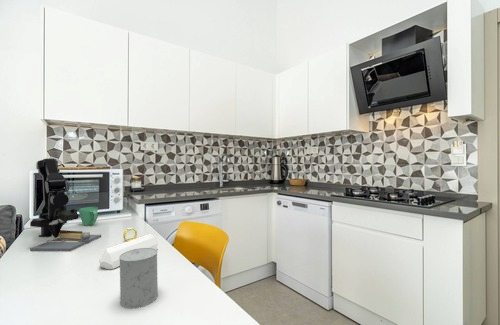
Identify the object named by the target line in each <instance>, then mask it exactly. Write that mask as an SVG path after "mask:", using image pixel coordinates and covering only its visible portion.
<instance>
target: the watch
mask: <svg viewBox="0 0 500 325" xmlns="http://www.w3.org/2000/svg"><path fill="white" fill-rule="evenodd" d="M129 231H134V236H133V238H131V239H127V238H126V234H127V232H129ZM137 236H138V231H137V230H136V229H135V228H134V227H128V228H126V230H124V232H123V236H122V237H123V239H124V240H125V242H128V241H131V240H133V239H136V238H137Z"/></svg>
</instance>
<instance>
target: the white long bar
mask: <svg viewBox="0 0 500 325" xmlns="http://www.w3.org/2000/svg"><path fill="white" fill-rule="evenodd" d="M132 239H133V238H132ZM139 248H153V249H156V250H157V251H158V242H157V239H156V238H155V236H154V235H153V234H151V233H148V234H146V235H143V236H140V237H136V238H135V239H133V240H131V241H125V242H122V243H119V244H116V245H114V246H110V247H107V248H105V249H104V250H103V251H102V254H101V256H100V258H99V266H100V268H102V269H106V270H108V271H109V270H114V269H115V268H116V269H117V268H118V267H120V259H119V257H120V255H121V254H123V253H125V252H127V251H130V250H133V249H139Z"/></svg>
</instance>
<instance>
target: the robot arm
mask: <svg viewBox="0 0 500 325" xmlns="http://www.w3.org/2000/svg"><path fill="white" fill-rule="evenodd" d="M35 166H36V170H37V171H38V172H37V173H38V174H39V175H40V177H42V194H43V195H42V196H43V206H42V207H41V208H40V210H39V214H38V218H35V219H32V220H31V221H30V227H31V228H32V227H33V228H35V227H36V228H40V231H41V232H40V234H39V235H38V237H39V238H41V237H43V238H44V237H45V238H49V237H50V238H51V237H52V235H53V236H54V237H53V239H57V238H59V237H58V235H59V232H60V230H62V228H63V226H64V225H65V224H68V222H69V221H74V220H78V219H79V213H78V210H77V209H76V208H71V209H67V205H68V204H69V200H70V198H69V197H68V195H66V194H65V193H68V192H69V190H70V187H69V182H68V181H67V179H66V178H65V176H64V175H63V174H61V173H60V171H59V169H58V168H59V161H58V160H57V159H56V158H43V159H41V160H38V161H36V164H35Z"/></svg>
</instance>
